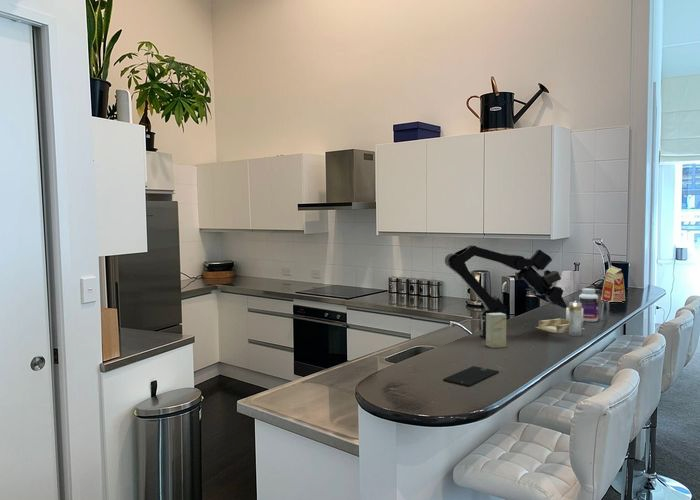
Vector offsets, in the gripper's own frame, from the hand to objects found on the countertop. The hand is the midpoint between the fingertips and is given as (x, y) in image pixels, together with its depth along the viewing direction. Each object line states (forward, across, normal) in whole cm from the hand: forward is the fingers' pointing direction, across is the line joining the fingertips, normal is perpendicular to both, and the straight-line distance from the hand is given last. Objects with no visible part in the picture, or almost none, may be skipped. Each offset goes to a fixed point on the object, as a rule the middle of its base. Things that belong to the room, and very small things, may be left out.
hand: (560, 305), depth 206 cm
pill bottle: (+27, +27, -9) cm, 39 cm away
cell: (+13, 0, +4) cm, 13 cm away
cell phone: (-27, -49, +44) cm, 72 cm away
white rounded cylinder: (+20, +21, -3) cm, 29 cm away
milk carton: (+55, +76, -37) cm, 101 cm away
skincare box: (-14, -14, +30) cm, 36 cm away
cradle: (+12, +11, +5) cm, 17 cm away
